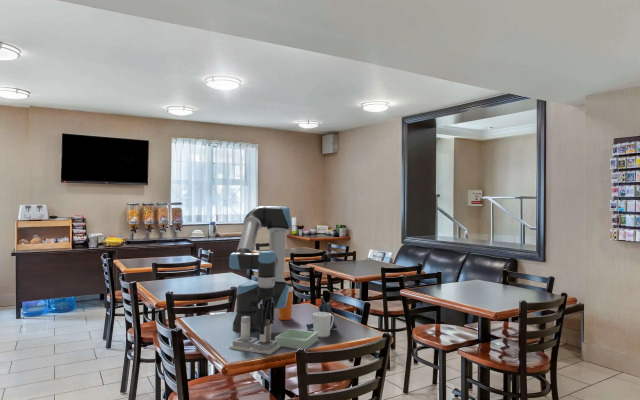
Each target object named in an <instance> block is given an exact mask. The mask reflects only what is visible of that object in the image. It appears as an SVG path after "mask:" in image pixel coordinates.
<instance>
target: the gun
mask: <svg viewBox="0 0 640 400" xmlns="http://www.w3.org/2000/svg"><path fill="white" fill-rule="evenodd" d="M320 300H321V302H320V303H321V304H320V303H319V306H318V312H327V313H330V314H332V315H333V316H334V317H335V314H334V312H333V311H332V307H333V305H332V303H330V301H328V302H326V301H325V300H324V296H322V297H320ZM331 323H332V316H331ZM331 323H330V326H331ZM306 329H307V331H310V330H313V322H312V323H309V324H308V323H306ZM334 329H338V327H337V325H336V323H335V321H334V322H333V325H332V328H331V329H330V331H331V330H334Z"/></svg>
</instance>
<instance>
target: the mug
mask: <svg viewBox="0 0 640 400" xmlns="http://www.w3.org/2000/svg"><path fill="white" fill-rule="evenodd" d="M331 316H332V323H331ZM333 322H335V315H334V316H333V315H332V314H330V313H327V312H320V311H317V312H313V313H312V323H313V328H312V330H313V331H312V332H318V338H328V337H330V334H331V330H332V329H331V328H332V325H333ZM330 323H331V326H330ZM330 329H331V330H330Z"/></svg>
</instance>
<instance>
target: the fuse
mask: <svg viewBox="0 0 640 400" xmlns="http://www.w3.org/2000/svg"><path fill="white" fill-rule="evenodd" d="M240 337H241V341H243V342H249V341H250V337H251V332H250V316H242V317H241V332H240Z"/></svg>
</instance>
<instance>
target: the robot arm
mask: <svg viewBox="0 0 640 400" xmlns="http://www.w3.org/2000/svg"><path fill="white" fill-rule="evenodd" d="M242 225H243V228H242V229H243V230H242V233H241V235H240V240H239V242H238V245H237V249H236V251H235V252H232V253H230V255H229V257H228V263H229V264H228V265H229V268H230V269H231V270H238V271H239V270H257V281H250V282H249V281H248V282H244V283H240V284H239V285H237V288H236V313H235V317H234V319H233V323H232V330H234V331H235V332H239V333H241V317H242V316H250V333H253V332H258V331H259V340H260V341H261V342H266V326H265V323H266V318H268V319H270V340H271V339H272V324H274V321H275V309H276V310H278V308H285V307H286V304H287V300H288V295H289V286H288V285H287V283H288V282H287V281H286V279H285V264H286V263H285V261H286V260H285V259H286V239H287V238H286V236H287V235H286V234H287V233H289V231H290V230H289V229H291V228H292V217H291V210H290V208H289V207H288V206H282V205H278V206H277V205H275V206H274V205H272V206H271V205H268V206H267V205H266V206H265V205H261V206H257V207H255V208H252V209H251V210H250V211H249V212H248V213H247V214H246V216H245V217H244V220H243V223H242ZM261 228H266V229H267V230H266V231H267V232H268V233H269V239H268V240H269V242H268V250H262V251H259V253H258V252H257V253H256V252H255V253H254V248H255V245H256V241H257V236H258V233H259V230H261Z"/></svg>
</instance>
